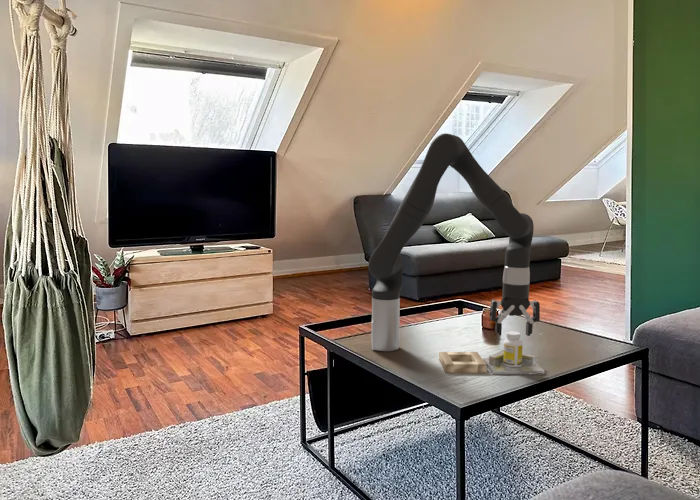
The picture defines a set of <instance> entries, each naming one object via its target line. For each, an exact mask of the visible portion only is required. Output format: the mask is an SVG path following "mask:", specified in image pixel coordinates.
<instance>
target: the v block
mask: <svg viewBox="0 0 700 500" xmlns="http://www.w3.org/2000/svg"><path fill="white" fill-rule="evenodd" d="M503 355H504V349H502V350H501V351H499V352H496V353H494V354H492V355H489V356H488V357H486V358H485V357H482V359H483V360H484V362H485V363H486V368H487V369H488V370H489V371H490V373H491V374H492V375H530V374H529V373H544V374H545V370H544V369H543V368H542V367H541V366H540V365H539V364H538V363H537V355H533V354H530V353H529V354H528V353H524V352H522V365H521V366H520V367H508V366H506V365H504V363H503Z"/></svg>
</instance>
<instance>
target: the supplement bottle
mask: <svg viewBox="0 0 700 500" xmlns="http://www.w3.org/2000/svg"><path fill="white" fill-rule="evenodd" d="M505 335H506V336H505V337H506V338H505V339H504V341H503V350H504V355H503V363H504V365H506V366H508V367H520V366H521V365H522V353H523V341H522V340H521V333H520V332H519V331H511V330H510V331H506V334H505Z"/></svg>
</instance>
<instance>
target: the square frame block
mask: <svg viewBox="0 0 700 500" xmlns="http://www.w3.org/2000/svg"><path fill="white" fill-rule="evenodd" d="M438 362H439V363H440V365H441V367H442V369H443V371H444V373H445V374H447V373H451V374H452V373H453V374H455V373H456V374H457V373H459V374H460V373H461V374H462V373H465V374H466V373H472V374H473V373H475V374H479V373H482V374H484V373H485V374H487V366H486V363H485V362H484V360H483V357H482V356H481V354H479V352H478V351H439V352H438Z"/></svg>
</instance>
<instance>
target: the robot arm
mask: <svg viewBox="0 0 700 500" xmlns="http://www.w3.org/2000/svg"><path fill="white" fill-rule="evenodd" d="M449 167H451V169H454V170H455V171H456V172H457V173H459V175H460V176H461V177H462V178H463V179H464V181H466V183H467V184H468V187H469V188H470V190H471V191H472V192H473V194H474V195H475V198H477V199H478V201H479V202H480V203H481V204H482V206H484V207H485V209H486V210H487V211H488V212H489V213H490V214H491V215H492V216H493V218H494V220H495V222H497V224H498V226H499V227H500V229H501V230H502V231H503V232H504V233H505V235H507V236H508V237H509V238H508V246H507V247H506V249H505V252H504V268H503V274H502V275H503V276H502V291H501V292H502V294H501V295H502V296H501V297H502V298H501V300H495V299H492V300H491V301H490V306H489V307H490V308H489V309H490V310H489V316H488V317H489V319H490V321H492V322H495V327H494V329H495V330H494V332H495V333H496V334H497V335H498V336H502V329H503V327H502V326H503V324H502V322H503V321H504V320H505V319H507V317H508V316H510V317H513V316H516V317H521V316H523V317H524V319H525V320H526V322H525V335H526V336H527V337H530V336H531V335H532V334H533V328H534V323H536V322H537V323H538V322H540V319H541V316H540V315H541V313H540V311H541V310H540V309H541V307H540V302H539V301H538V300H536V299H535V300H533V301H531V300H530V299H529V298H530V284H531V283H530V282H531V281H530V280H531V279H530V276H531V272H530V263H531V262H530V261H531V258H530V257H531V248H532V242H533V238H534V237H533V236H534V226H535V225H534V221H533V219H532V217H531V216H530V215H528V214H527V213H521V212H520V211H518V209H517V208H516V207H515V206H514V205H513V204H512V199H511V198H510V196H509V195H508V194H507V193H506V192H505V191H504V189H502V188H501V187H500V186H499V184H498V183H496V182H495V181H494V179H493V178H492V177H491V176H490V175H489V174H488V173H487V172H486V171H485V170H484V169H483V167H481V165H480V164H479V162H478V161H477V160H476V158H475V157H474V156H473V154H472V152H471V151H470V150H469V148H468V146H467V145H466V143H465V142H464V140H463V138H461V137H460V136H458V135H455V134H451V133H446V132H445V133H440V134H438V135H437V136H436V137H435V138H433V139H432V141H431V143H430V145H429V147H428V149H427V152H426V154H425V157H424V159H423V161H422V164H421V166H420V169H419V171H418V172H417V174H416V176H415V177H414V180H413V182H412V183H411V185H410V186H409V189H408V190H407V192H406V194H405V195H404V197H403V199H402V200H401V203H400V205H399V206H398V209H397V211H396V212H395V215H394V216H393V219H392V220H391V222H390V225H389V226H388V228H387V231H386V232H385V234H384V236H383V238H382V239H381V241H380V242H379V244H378V245H377V247H376V248H375V249H374V250H373V252H372V254H371V256H370V257H369V260H368V271H369V273H370V275H371V276H372V277H373V278H375V279H376V283H375V284H374V287H373V288H372V290H371V350H372V351H379V352H393V351H397V350H398V349H400V316H401V315H400V308H401V307H400V303H401V298H400V297H401V295H400V293H401V290H402V288H403V270H404V267H403V266H404V264H403V258H402V256H401V252H402V250H403V249H404V247H405V246H406V244H407V243H409V241H410V240H411V239H412V237H413V236H414V235H416V233H417V232H418V231H419V230H420V229H421V227H422V225H424V223H425V221H426V219H427V218H428V216H429V215H430V212H431V210H432V208H433V206H434V203H435V200H436V194H437V190H438V186H439V184H440V182H441V179H442V178H443V176H444V174H445V173H446V171H447V169H448V168H449ZM500 306H501V308H502V309H501V310H500V312H499V313H498V315H497V309H498V308H499V307H500ZM529 307H531V309H532V316H531V315H530V314H529V313H528V311H527V310H528V308H529Z"/></svg>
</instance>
